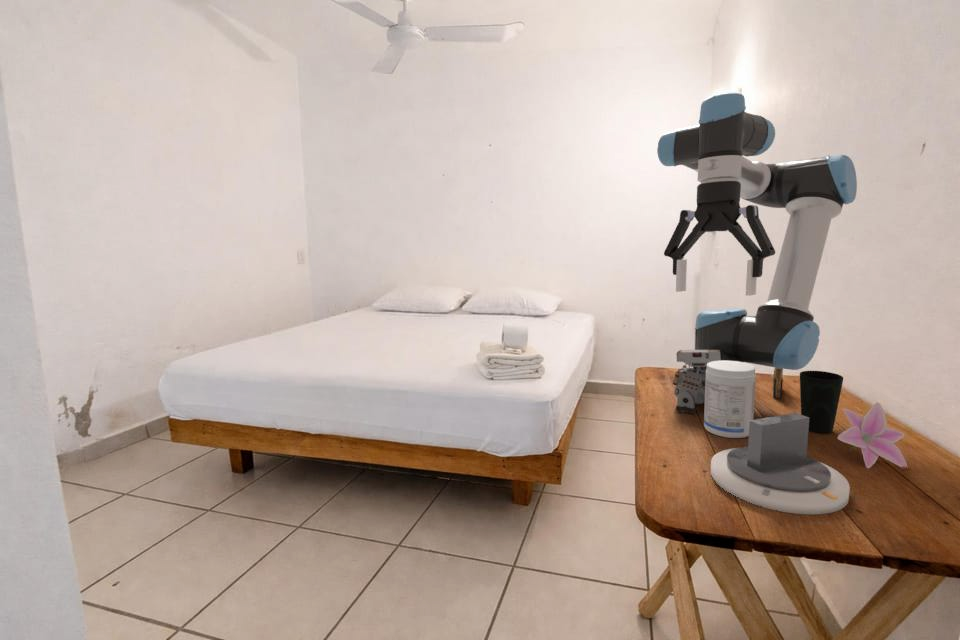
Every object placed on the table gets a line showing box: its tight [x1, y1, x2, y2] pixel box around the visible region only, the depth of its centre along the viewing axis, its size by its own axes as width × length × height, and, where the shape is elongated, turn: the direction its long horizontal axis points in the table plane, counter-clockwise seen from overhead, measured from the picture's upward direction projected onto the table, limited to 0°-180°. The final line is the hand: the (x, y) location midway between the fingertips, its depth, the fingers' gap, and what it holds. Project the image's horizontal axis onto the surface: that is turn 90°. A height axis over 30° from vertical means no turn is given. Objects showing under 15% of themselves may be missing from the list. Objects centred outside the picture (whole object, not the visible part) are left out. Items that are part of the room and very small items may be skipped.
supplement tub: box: [703, 360, 757, 439], centre depth 105 cm, size 10×10×15 cm
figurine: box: [672, 349, 722, 415], centre depth 119 cm, size 9×12×15 cm
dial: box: [727, 412, 831, 492], centre depth 82 cm, size 15×15×9 cm
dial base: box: [710, 447, 851, 516], centre depth 83 cm, size 20×20×2 cm
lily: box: [837, 401, 908, 469], centre depth 91 cm, size 12×12×10 cm
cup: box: [799, 370, 844, 435], centre depth 105 cm, size 8×8×12 cm
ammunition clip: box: [772, 367, 784, 400], centre depth 130 cm, size 11×2×12 cm, turn 150°
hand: (713, 293), depth 97 cm, fingers open, 13 cm apart
